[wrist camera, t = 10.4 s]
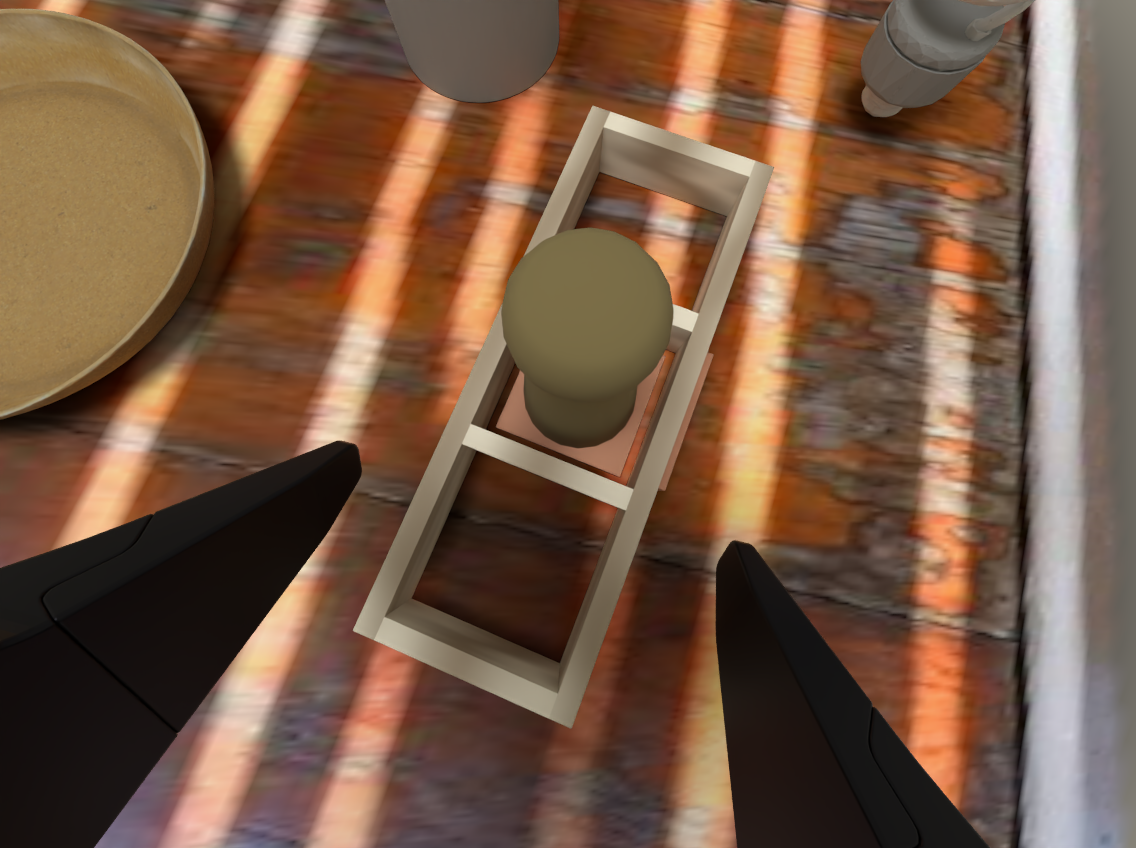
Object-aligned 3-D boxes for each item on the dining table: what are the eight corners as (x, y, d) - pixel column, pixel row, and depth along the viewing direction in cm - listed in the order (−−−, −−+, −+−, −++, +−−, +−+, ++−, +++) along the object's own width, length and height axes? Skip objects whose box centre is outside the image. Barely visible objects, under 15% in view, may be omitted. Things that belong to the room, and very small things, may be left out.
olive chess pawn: (659, 407, 21) (749, 319, 11) (564, 470, 21) (557, 447, 10) (594, 318, 22) (617, 152, 11) (501, 377, 22) (433, 262, 11)
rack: (755, 210, 24) (781, 169, 21) (578, 695, 19) (580, 732, 16) (589, 152, 24) (592, 105, 21) (384, 610, 20) (352, 630, 17)
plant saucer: (333, 211, 24) (296, 168, 21) (9, 532, 21) (-94, 540, 18) (74, 5, 27) (5, -63, 23) (-247, 264, 24) (-377, 229, 20)
